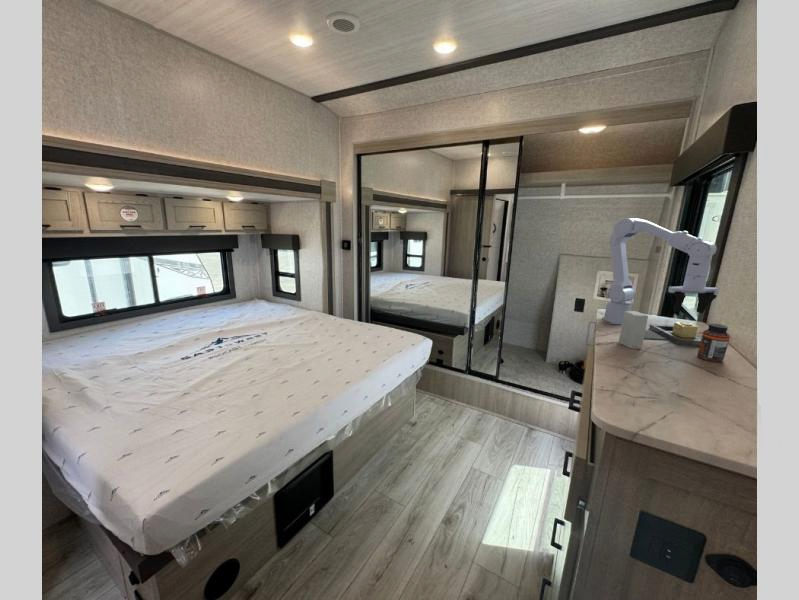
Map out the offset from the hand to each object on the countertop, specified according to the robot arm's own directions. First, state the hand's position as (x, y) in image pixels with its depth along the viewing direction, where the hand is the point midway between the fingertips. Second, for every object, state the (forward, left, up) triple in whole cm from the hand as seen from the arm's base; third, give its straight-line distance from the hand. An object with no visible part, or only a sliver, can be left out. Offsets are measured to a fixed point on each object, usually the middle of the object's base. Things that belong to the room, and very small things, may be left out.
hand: (687, 312), depth 112 cm
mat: (-1, -11, -10) cm, 15 cm away
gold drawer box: (+3, -2, -10) cm, 11 cm away
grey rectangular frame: (-1, -2, -10) cm, 10 cm away
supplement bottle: (+19, -4, -11) cm, 22 cm away
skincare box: (+11, -23, -11) cm, 27 cm away
